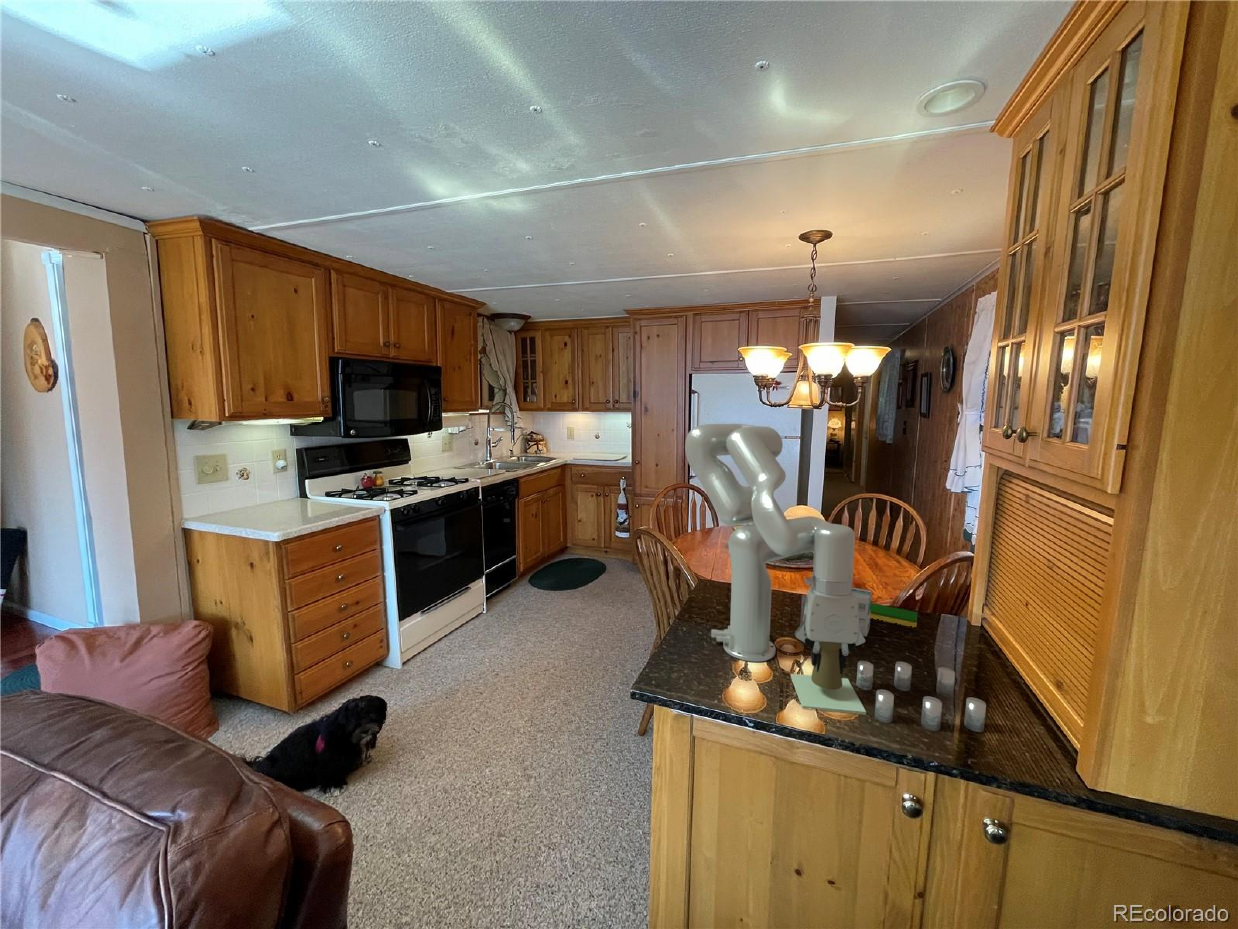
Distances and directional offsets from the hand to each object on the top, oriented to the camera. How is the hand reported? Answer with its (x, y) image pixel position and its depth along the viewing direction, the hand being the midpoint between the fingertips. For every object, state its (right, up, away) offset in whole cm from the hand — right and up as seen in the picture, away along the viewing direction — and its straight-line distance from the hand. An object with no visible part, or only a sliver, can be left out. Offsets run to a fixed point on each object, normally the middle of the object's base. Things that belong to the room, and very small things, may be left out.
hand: (827, 668), depth 101 cm
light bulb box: (+19, -2, +32) cm, 37 cm away
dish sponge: (+34, -2, +39) cm, 52 cm away
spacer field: (+17, -6, -3) cm, 18 cm away
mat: (0, -6, +1) cm, 6 cm away
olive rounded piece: (0, -3, 0) cm, 3 cm away
